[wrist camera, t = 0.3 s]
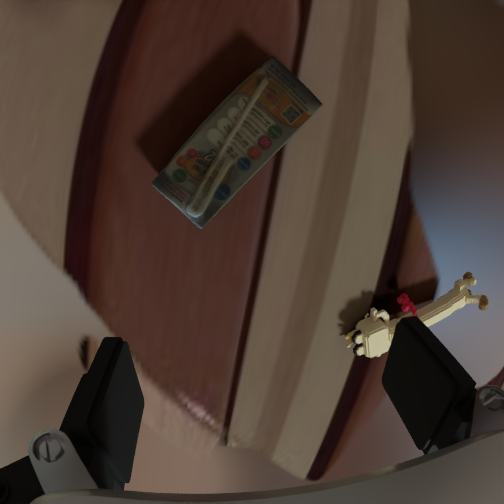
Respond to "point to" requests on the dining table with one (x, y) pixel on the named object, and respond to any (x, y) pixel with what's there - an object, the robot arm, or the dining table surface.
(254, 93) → the beverage carton
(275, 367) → the dining table surface
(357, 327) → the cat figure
